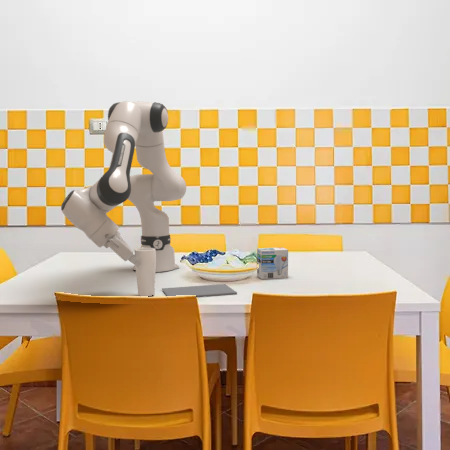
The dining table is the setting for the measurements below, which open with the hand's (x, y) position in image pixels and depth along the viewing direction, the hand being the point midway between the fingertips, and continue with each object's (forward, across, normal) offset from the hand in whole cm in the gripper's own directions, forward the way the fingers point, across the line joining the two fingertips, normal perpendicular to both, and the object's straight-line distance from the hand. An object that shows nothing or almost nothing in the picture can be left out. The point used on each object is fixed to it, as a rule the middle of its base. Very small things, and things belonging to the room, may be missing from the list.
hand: (137, 263), depth 166 cm
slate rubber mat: (+21, -1, -6) cm, 22 cm away
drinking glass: (+9, 0, +6) cm, 11 cm away
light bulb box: (+44, +15, -29) cm, 55 cm away
